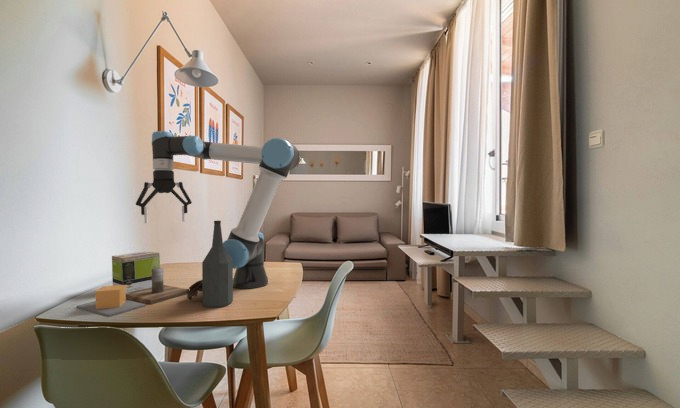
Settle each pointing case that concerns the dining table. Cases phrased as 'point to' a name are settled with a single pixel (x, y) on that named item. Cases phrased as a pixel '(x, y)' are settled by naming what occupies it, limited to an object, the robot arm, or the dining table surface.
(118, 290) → the orange foam cube
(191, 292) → the brown animal figurine
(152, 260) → the tea box
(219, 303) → the bottle
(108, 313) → the mat
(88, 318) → the dining table surface
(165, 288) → the post stand
